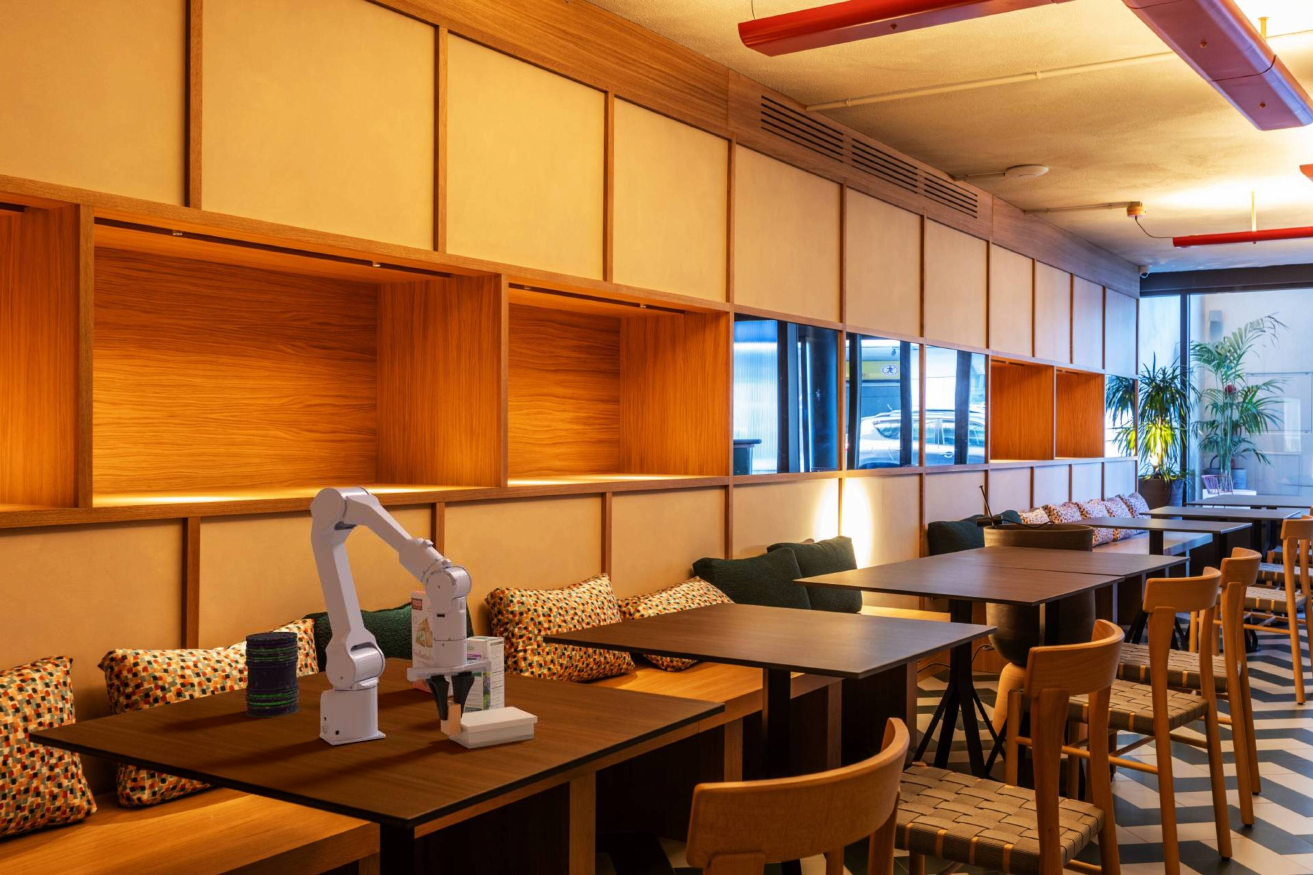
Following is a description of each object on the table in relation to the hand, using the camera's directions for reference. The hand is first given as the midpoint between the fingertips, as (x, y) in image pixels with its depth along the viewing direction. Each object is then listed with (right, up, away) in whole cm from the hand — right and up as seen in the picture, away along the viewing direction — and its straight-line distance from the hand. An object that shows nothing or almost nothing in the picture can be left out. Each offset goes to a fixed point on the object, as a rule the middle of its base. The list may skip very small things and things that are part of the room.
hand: (450, 718), depth 194 cm
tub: (+6, -4, +4) cm, 9 cm away
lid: (+5, -2, +3) cm, 7 cm away
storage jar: (-40, -6, +29) cm, 50 cm away
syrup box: (+2, -5, +24) cm, 24 cm away
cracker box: (-11, -6, +46) cm, 48 cm away
